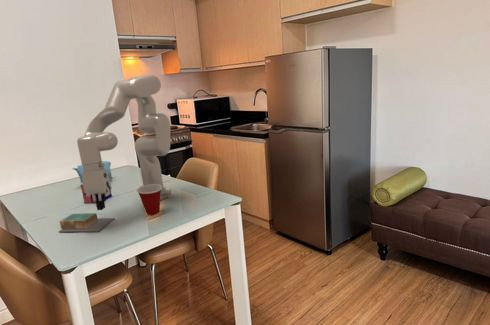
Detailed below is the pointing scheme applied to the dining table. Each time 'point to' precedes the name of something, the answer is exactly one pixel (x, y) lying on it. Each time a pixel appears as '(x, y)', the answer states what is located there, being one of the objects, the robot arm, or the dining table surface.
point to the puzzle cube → (90, 199)
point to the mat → (93, 228)
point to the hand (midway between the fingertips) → (101, 208)
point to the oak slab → (78, 221)
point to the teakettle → (107, 167)
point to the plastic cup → (150, 198)
